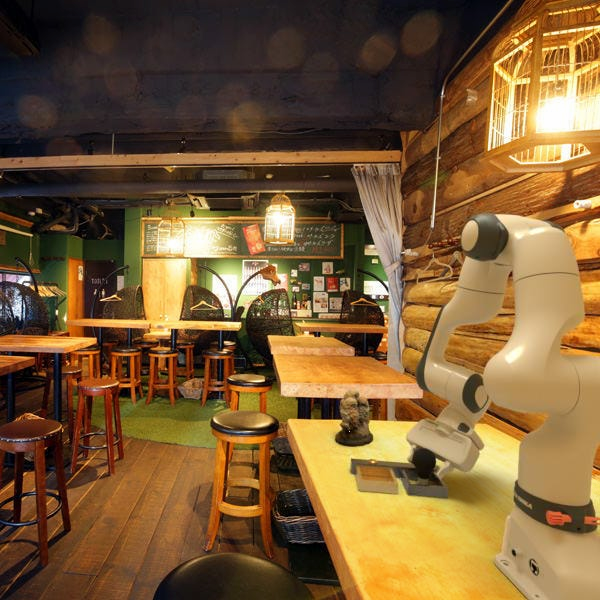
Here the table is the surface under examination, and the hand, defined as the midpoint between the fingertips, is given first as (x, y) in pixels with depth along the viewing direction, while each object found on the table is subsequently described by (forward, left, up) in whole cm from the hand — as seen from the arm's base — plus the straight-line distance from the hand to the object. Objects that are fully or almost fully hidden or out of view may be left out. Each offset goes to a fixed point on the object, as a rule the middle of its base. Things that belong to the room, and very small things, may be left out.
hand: (422, 469), depth 100 cm
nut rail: (+2, +6, -5) cm, 8 cm away
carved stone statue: (+33, +15, -5) cm, 37 cm away
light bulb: (0, 0, -5) cm, 5 cm away
